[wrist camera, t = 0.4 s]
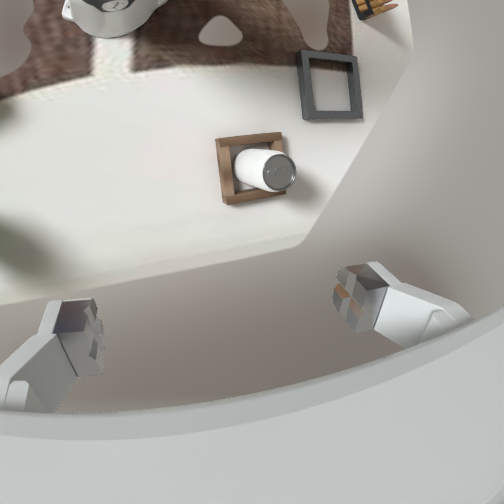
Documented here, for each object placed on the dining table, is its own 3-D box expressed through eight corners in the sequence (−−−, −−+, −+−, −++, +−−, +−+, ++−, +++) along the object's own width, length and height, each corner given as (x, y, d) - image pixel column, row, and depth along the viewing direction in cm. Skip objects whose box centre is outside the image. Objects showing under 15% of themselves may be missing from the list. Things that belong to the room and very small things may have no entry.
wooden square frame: (215, 139, 52) (219, 138, 50) (274, 132, 55) (281, 132, 53) (222, 202, 56) (227, 204, 54) (280, 191, 60) (286, 193, 58)
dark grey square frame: (295, 52, 51) (300, 49, 50) (350, 58, 56) (356, 56, 54) (302, 119, 57) (308, 118, 55) (356, 118, 61) (362, 118, 59)
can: (230, 151, 54) (257, 154, 43) (263, 146, 56) (296, 148, 45) (235, 186, 56) (262, 197, 46) (267, 180, 58) (300, 189, 48)
